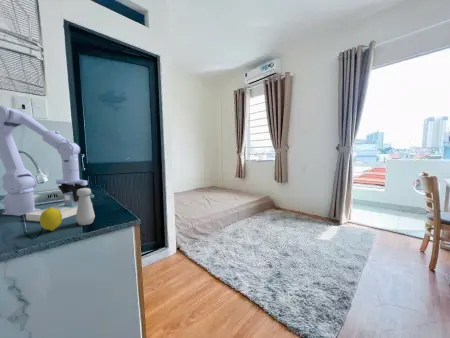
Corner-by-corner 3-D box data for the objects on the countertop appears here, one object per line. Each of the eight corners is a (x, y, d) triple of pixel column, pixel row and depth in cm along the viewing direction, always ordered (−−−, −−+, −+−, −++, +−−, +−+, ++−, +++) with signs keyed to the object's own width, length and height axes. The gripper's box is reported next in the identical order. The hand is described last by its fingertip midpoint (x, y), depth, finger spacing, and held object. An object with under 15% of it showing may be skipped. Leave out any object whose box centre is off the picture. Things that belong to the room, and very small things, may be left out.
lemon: (49, 227, 69) (48, 205, 68) (66, 227, 69) (65, 205, 68) (36, 234, 63) (33, 210, 62) (54, 234, 64) (52, 209, 63)
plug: (64, 209, 86) (63, 193, 85) (73, 206, 90) (72, 191, 90) (71, 210, 85) (70, 194, 85) (80, 207, 89) (79, 192, 89)
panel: (26, 220, 76) (25, 213, 76) (71, 207, 93) (70, 201, 93) (51, 222, 74) (51, 215, 73) (92, 208, 91) (92, 202, 91)
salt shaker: (85, 226, 70) (82, 190, 68) (71, 225, 71) (69, 189, 69) (99, 221, 75) (97, 187, 74) (86, 220, 76) (84, 186, 75)
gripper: (47, 170, 84) (50, 202, 85) (76, 171, 81) (78, 204, 83) (64, 169, 91) (66, 198, 92) (90, 170, 88) (92, 199, 89)
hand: (72, 200), depth 88 cm, fingers closed on plug, 4 cm apart
